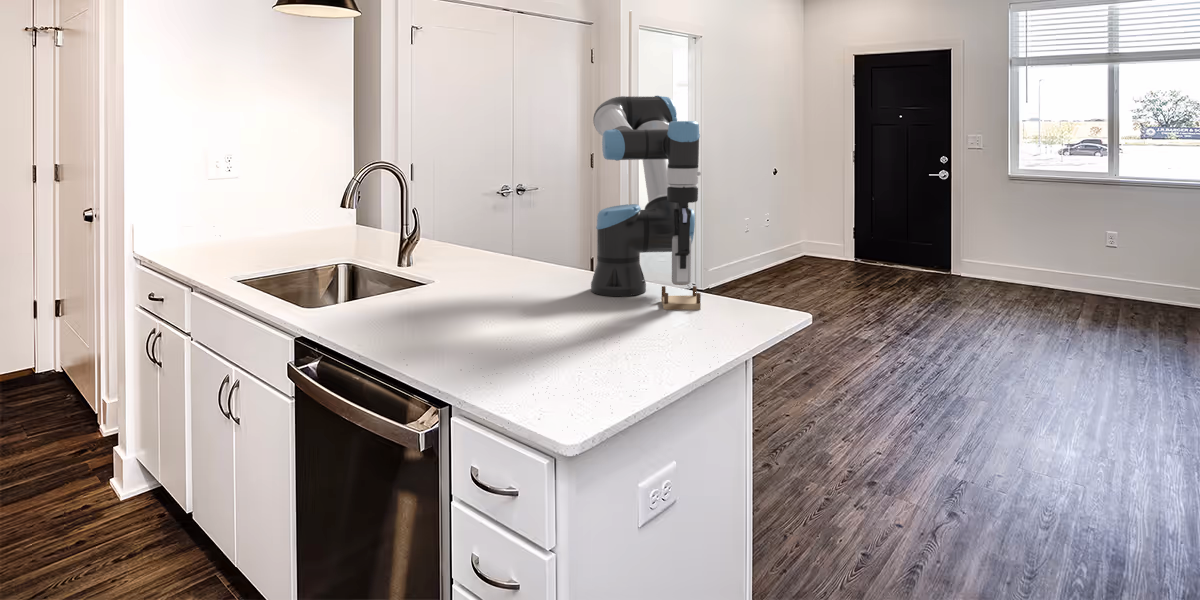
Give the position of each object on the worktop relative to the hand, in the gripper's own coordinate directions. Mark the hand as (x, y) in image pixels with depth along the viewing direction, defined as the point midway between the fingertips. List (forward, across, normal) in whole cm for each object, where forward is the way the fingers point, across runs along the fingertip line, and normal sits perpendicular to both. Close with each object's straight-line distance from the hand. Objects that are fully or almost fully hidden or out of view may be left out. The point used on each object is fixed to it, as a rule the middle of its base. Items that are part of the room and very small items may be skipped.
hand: (681, 278), depth 192 cm
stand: (+7, 0, 0) cm, 7 cm away
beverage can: (+1, 0, 0) cm, 1 cm away
